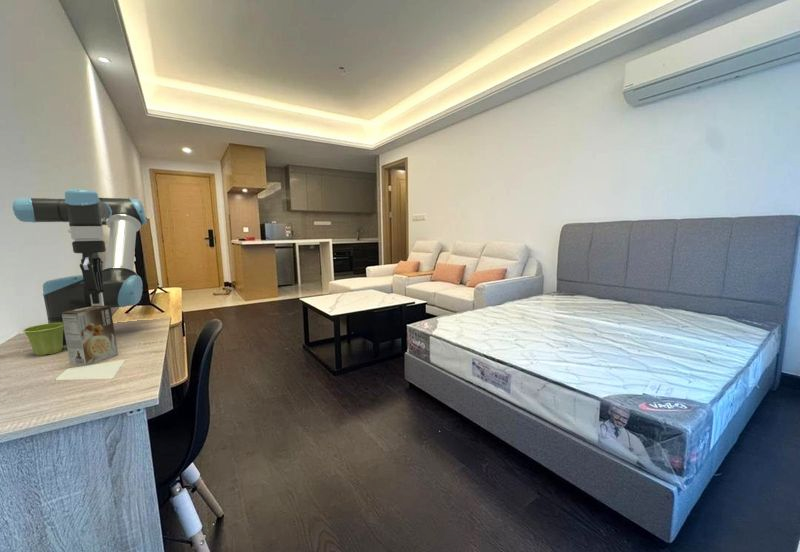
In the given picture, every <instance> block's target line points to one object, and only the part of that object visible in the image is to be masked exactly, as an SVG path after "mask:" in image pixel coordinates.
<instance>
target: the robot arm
mask: <svg viewBox="0 0 800 552" xmlns="http://www.w3.org/2000/svg"><path fill="white" fill-rule="evenodd" d="M144 209H145V208H144V206H143V203H142V201H141V200H140V199H138V198H130V197H127V198H122V197H121V198H120V197H119V198H118V197H115V198H114V197H99V195H98V193H97V192H96V191H95V190H90V189H89V190H88V189H67V190H65V192H64V198H49V197H48V198H43V197H41V198H39V197H17V198H15V199H14V201H13V202H12V210H13V214H14V216H15V217H16V219H17V220H18V221H20V222H23V223H68V225H69V229H68V230H67V233H69V234H70V238H71V240H74V241H72V242H71V245H72V252H73V253H74V254H81V255H82V257H81V259H80V263H79V267H80V270H81V273H82V274H76V275H72V276H71V275H70V276H65V277H59V278H54V279H50V280H46V281H45V282H43V284H42V291H43V292H42V296H43V299H44V300H43V301H44V306H45V311H46V317H47V321H48V323H47V324H49V323H63V321H62V316H61V312H65V311H70V310H75V309H80V308H85V307H89V306H94V305H100V306H110V307H111V309H112V308H125V307H132V306H135V305H137V304H139V303H140V301H141V299H142V296H143V280H142V277H141V276H139V275H138V273H137V272H136V271H135V270H134V266H135V265H134V264H135V254H136V252H135V251H136V250H135V249H136V238H137V232H139V231H140V230H141V227H142V226H145V225H147V216H146V213H145V210H144ZM103 226H107V228H109V235H108V240H107V249H106V242H105V241H104V240H103V239H105V233H104V228H103ZM105 252H106V257H105V264H104V268H103V263H104V261H103V260H102V258H101V257H100V256H99V253H105ZM63 346H67V343H66V338H65V332H64V330H63Z"/></svg>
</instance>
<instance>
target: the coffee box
mask: <svg viewBox="0 0 800 552" xmlns="http://www.w3.org/2000/svg"><path fill="white" fill-rule="evenodd" d="M61 316H62V321H63V327H64V332H65V338H66V343H67V345H66V348H67V354H68V359H69V364H70V365H73V366H74V365H75V366H88V365H94V364H97V363H98V362H101V361H105V360H107V359H110V358H112V357H115V356H117V355H119V352H118V351H119V350H118V345H117V338H116V333H115V332H116V331H115V327H114V319H113V315H112V308H111V307H110V306H100V305H94V306H89V307H85V308H80V309H75V310H70V311H65V312H61Z"/></svg>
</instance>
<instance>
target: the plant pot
mask: <svg viewBox="0 0 800 552" xmlns="http://www.w3.org/2000/svg"><path fill="white" fill-rule="evenodd" d="M63 330H64V327H63V323H49V324H48V323H43V324H37V325H34V326H29V327H26V328H24V329H22V332H23V333H25V336H26V337H28V340H29V342H30V345H31V347H32V351H33V353H34V355H35V356H39V357H40V356H42V357H43V356H46V355H53V354H56V353H59V352H61V351H63V348H64V347H63V346H64V345H63Z"/></svg>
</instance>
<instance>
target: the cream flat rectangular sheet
mask: <svg viewBox="0 0 800 552" xmlns="http://www.w3.org/2000/svg"><path fill="white" fill-rule="evenodd" d="M125 362H126V359H120V360H119V359H118V360H114V361H107V362H101V363H93V364H90V365H87V366H84V365H81V366H77V367H76V366H75V367H70V368H66V369H65V370H64V371H63V372H62V373H61V374H60V375H58V376H57V378H56V379H55V380H56V381H59V380H60V381H61V380H62V381H63V380H64V381H67V380H69V381H70V380H100V379H101V380H104V379H110V380H111V379H114V377H115V376H116V374H117V373H118V372H119V370H120V369H121V368H122V366H123V365H124V363H125Z"/></svg>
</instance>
